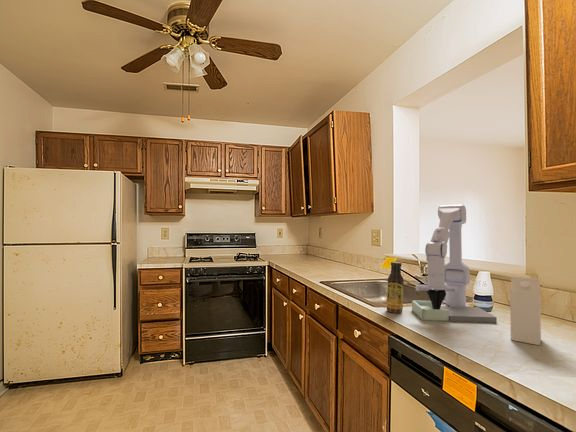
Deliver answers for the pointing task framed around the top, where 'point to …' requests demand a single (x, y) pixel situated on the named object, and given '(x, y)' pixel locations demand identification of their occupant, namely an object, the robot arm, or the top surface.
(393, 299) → the sauce bottle
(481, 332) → the top surface
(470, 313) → the board
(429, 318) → the tray
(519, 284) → the milk carton
